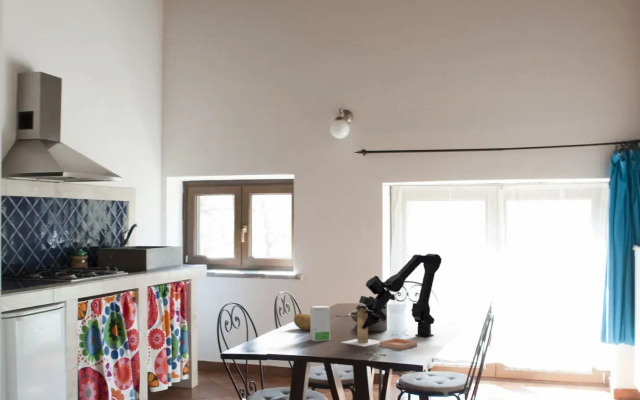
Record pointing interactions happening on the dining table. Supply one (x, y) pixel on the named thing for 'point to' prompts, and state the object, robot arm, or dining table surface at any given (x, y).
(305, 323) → the potato
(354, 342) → the felt mat
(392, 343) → the terracotta dish
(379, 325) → the pillar candle
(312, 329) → the skincare box
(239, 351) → the dining table surface
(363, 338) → the pepper mill
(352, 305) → the dining table surface
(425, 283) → the robot arm
